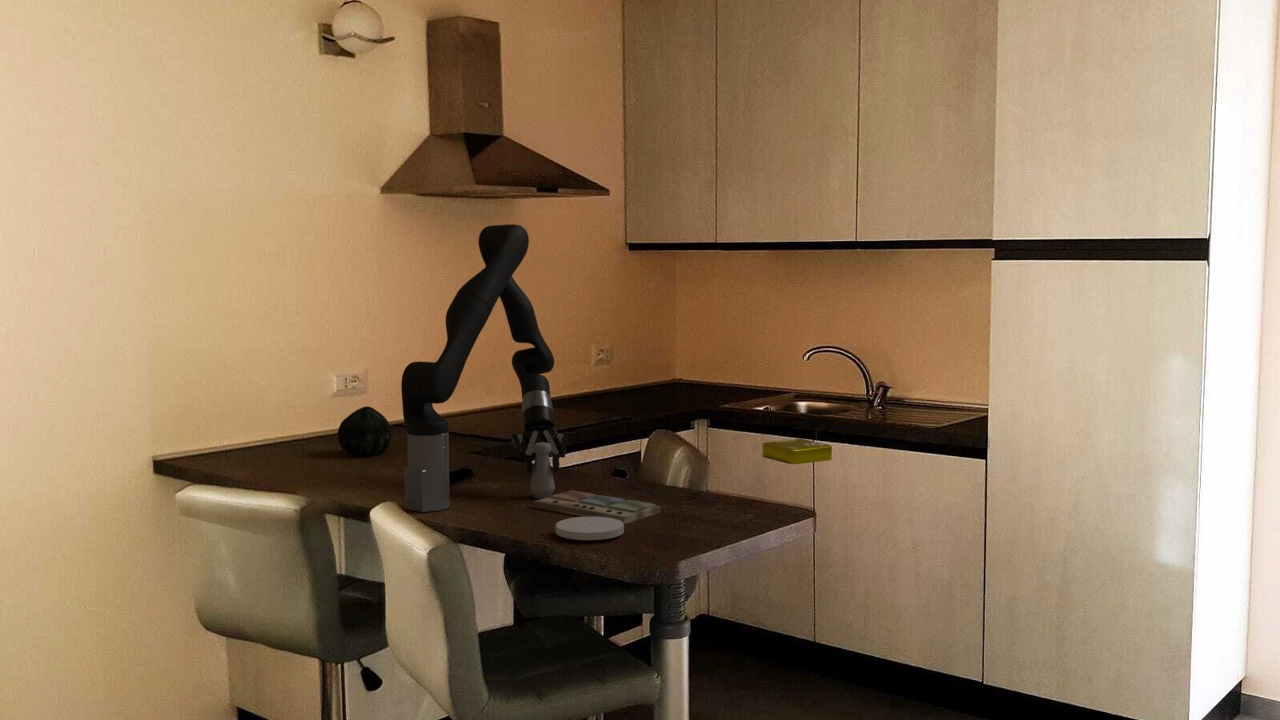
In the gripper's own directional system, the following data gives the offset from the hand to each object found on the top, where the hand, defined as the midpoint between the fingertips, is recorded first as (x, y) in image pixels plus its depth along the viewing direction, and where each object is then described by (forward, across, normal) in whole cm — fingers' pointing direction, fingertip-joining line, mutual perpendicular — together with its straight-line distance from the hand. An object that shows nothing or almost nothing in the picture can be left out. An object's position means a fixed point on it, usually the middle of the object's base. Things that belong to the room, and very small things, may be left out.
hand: (543, 470), depth 267 cm
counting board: (+15, +10, -5) cm, 19 cm away
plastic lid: (+31, +6, -20) cm, 37 cm away
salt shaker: (+4, 0, +6) cm, 7 cm away
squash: (-44, -44, +53) cm, 82 cm away
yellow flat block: (-23, +76, +33) cm, 86 cm away
